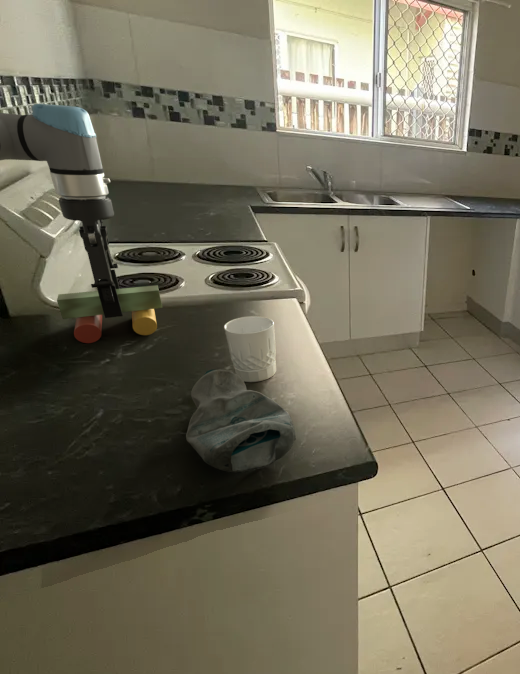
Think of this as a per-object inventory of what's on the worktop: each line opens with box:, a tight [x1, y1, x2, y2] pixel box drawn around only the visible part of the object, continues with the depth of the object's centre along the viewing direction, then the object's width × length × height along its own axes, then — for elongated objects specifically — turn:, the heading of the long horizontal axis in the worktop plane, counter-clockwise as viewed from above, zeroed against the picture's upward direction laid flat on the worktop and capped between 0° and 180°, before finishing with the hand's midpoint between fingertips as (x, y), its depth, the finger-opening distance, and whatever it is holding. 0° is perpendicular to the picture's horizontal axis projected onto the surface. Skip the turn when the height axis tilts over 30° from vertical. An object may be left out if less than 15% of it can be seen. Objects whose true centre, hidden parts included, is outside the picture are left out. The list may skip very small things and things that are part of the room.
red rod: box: [73, 315, 103, 344], centre depth 96 cm, size 12×4×4 cm, turn 37°
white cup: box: [223, 315, 277, 383], centre depth 86 cm, size 8×8×10 cm
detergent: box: [185, 368, 297, 473], centre depth 71 cm, size 13×7×25 cm
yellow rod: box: [131, 309, 158, 336], centre depth 101 cm, size 12×4×4 cm, turn 37°
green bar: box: [56, 284, 163, 320], centre depth 97 cm, size 16×4×4 cm, turn 126°
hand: (114, 307), depth 98 cm, fingers open, 9 cm apart
